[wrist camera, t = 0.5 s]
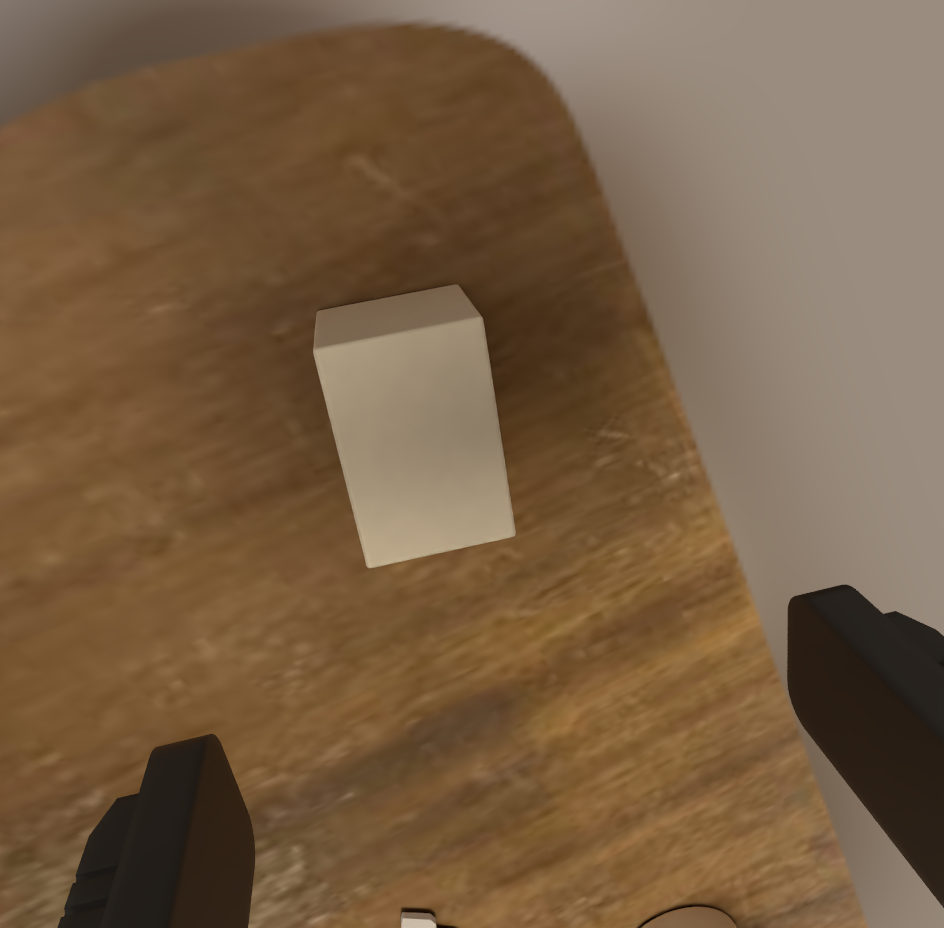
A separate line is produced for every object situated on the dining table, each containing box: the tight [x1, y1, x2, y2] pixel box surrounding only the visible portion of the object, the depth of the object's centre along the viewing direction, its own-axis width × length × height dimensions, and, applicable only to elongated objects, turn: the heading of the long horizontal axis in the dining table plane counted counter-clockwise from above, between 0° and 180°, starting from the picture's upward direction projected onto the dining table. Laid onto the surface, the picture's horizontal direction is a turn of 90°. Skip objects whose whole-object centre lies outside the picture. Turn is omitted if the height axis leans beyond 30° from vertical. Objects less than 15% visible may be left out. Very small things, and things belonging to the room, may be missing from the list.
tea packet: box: [313, 284, 516, 568], centre depth 21 cm, size 6×4×4 cm, turn 9°
